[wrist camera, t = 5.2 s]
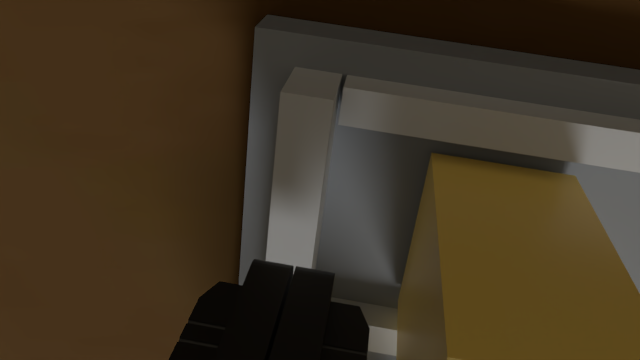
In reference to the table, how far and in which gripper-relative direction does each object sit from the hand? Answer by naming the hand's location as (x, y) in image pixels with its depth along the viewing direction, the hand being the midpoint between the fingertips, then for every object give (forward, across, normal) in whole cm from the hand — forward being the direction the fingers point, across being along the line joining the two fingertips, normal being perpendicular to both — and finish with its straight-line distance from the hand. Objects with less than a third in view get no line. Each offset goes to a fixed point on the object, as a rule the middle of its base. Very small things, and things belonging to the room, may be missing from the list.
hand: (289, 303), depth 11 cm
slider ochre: (+3, -4, 0) cm, 5 cm away
